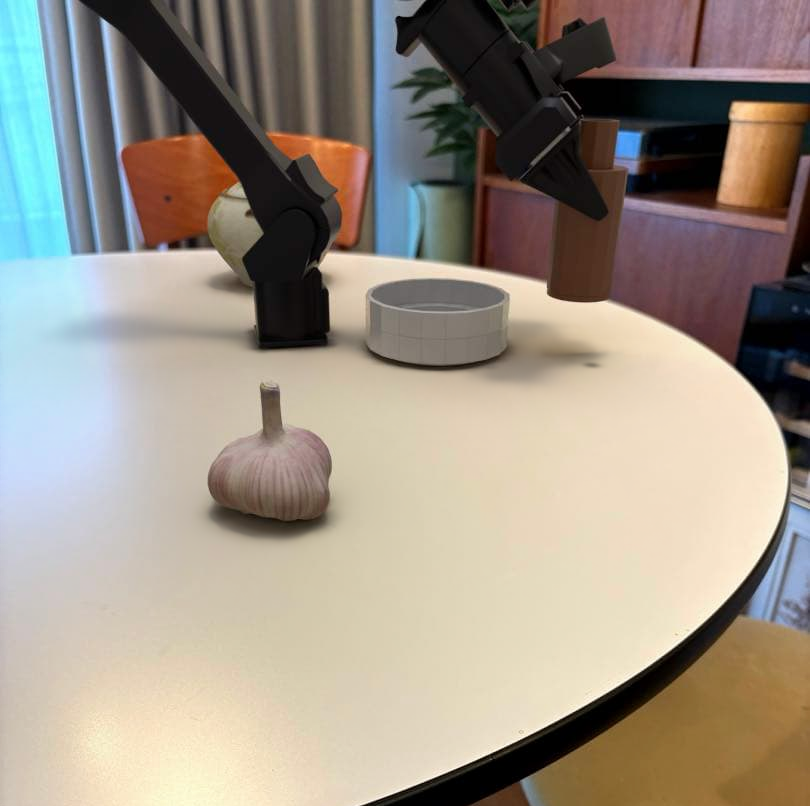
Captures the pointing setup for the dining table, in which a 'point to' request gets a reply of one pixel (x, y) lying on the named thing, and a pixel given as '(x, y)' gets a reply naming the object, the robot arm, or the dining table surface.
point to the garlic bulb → (273, 468)
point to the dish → (437, 321)
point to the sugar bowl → (235, 229)
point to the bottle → (589, 223)
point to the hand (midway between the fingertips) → (604, 211)
